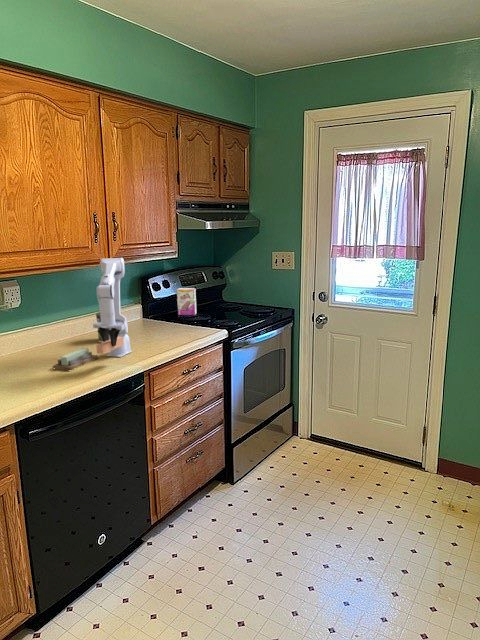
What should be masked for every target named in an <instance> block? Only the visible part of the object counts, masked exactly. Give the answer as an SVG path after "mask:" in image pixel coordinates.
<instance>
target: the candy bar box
mask: <svg viewBox="0 0 480 640" xmlns="http://www.w3.org/2000/svg"><path fill="white" fill-rule="evenodd" d="M196 291H197V290H196V288H195V287H194V288H193V287H191V288H189V287H188V288H186V287H179V288H177V289H176V301H177V302H176V303H177V306H176V307H177V316H196V315H197V311H198V310H197V294H196V293H197V292H196Z"/></svg>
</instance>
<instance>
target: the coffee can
mask: <svg viewBox="0 0 480 640" xmlns="http://www.w3.org/2000/svg"><path fill="white" fill-rule="evenodd" d="M95 316H96V323H101V317H100V311H99V312H97V313H96V314H95ZM98 330H99V328H97V331H98ZM97 337H98V342H99V343H103V339H102V337H101V336H100V334H99V333H98V332H97Z"/></svg>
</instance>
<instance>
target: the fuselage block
mask: <svg viewBox="0 0 480 640" xmlns="http://www.w3.org/2000/svg"><path fill="white" fill-rule="evenodd" d="M88 352H90V350H89V348H87V347H82V348H79V349H77V350H73V351H72V352H69V353H67V354H65V355H62V356H60V359H61V363H62V365H69V364H68V361H70V360H72V359H75V358H77V357H79V356H82V355H84V354H86V353H88Z"/></svg>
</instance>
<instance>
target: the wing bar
mask: <svg viewBox="0 0 480 640" xmlns="http://www.w3.org/2000/svg"><path fill="white" fill-rule="evenodd" d="M122 345H124V343H123V337H117V342H116V345H115V346H112V345H111V339H110V340H107V341H105V342H103V343H102V342H99V343H97V344H96V346H95V347H96V354H100V355H103V354H106V353H108V352H109V353H110V351H111V350H113V349H115V348H118V347H120V346H122Z"/></svg>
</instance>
